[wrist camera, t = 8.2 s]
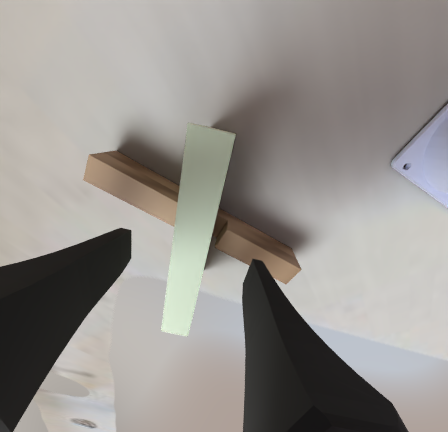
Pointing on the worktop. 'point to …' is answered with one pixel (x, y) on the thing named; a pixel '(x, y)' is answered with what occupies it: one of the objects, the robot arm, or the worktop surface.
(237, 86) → the worktop surface
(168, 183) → the walnut board
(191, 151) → the long pale green beam
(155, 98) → the worktop surface
